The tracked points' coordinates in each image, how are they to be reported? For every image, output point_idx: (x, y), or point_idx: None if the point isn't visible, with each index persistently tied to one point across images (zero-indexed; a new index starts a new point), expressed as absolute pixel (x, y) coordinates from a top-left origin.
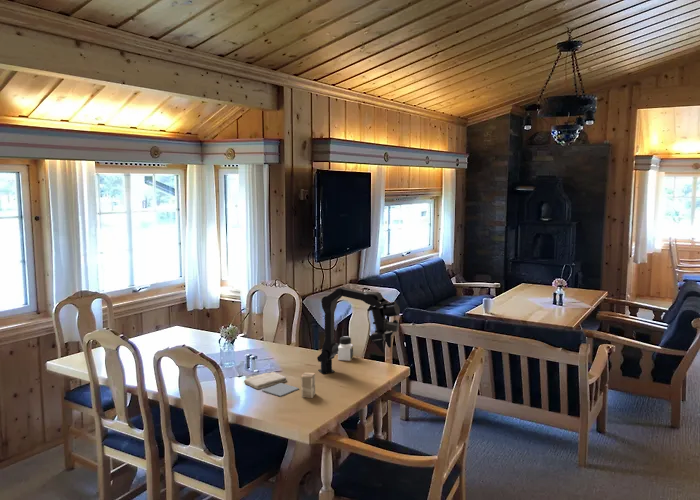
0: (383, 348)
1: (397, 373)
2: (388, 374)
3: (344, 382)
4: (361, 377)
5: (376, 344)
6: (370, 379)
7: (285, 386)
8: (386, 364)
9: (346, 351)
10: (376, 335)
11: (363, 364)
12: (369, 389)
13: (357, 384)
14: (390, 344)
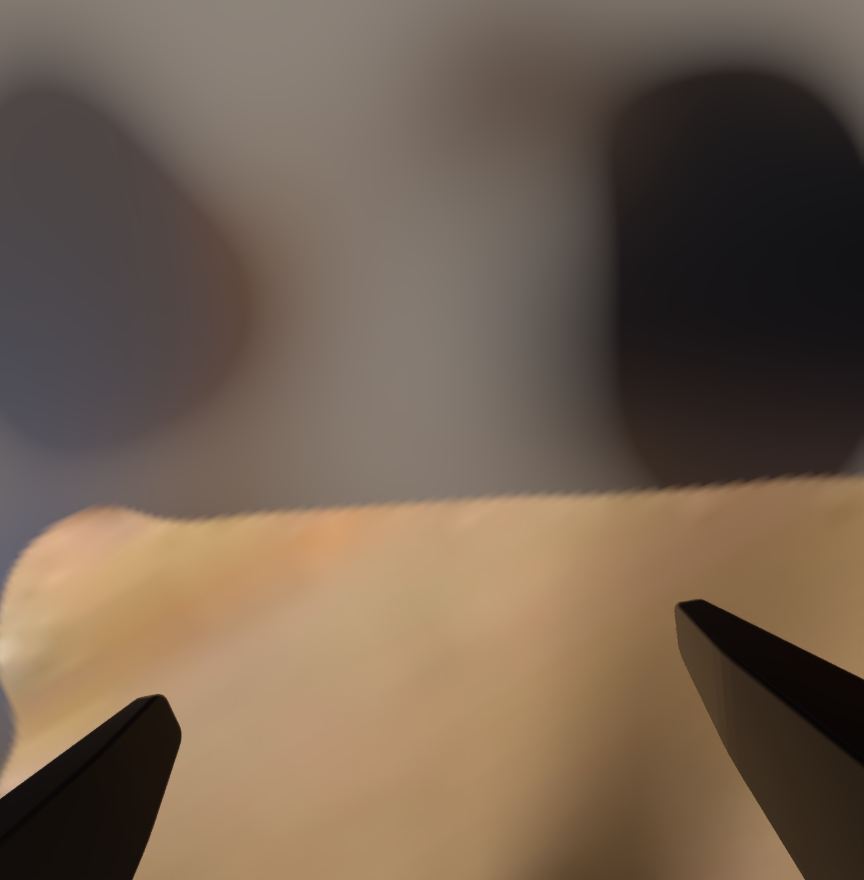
0: (830, 674)
1: (202, 525)
2: (276, 586)
3: (710, 837)
4: (496, 769)
5: None
6: (498, 664)
7: None
8: (35, 753)
9: None
10: None
11: None
12: (756, 523)
13: (693, 699)
14: (102, 756)
